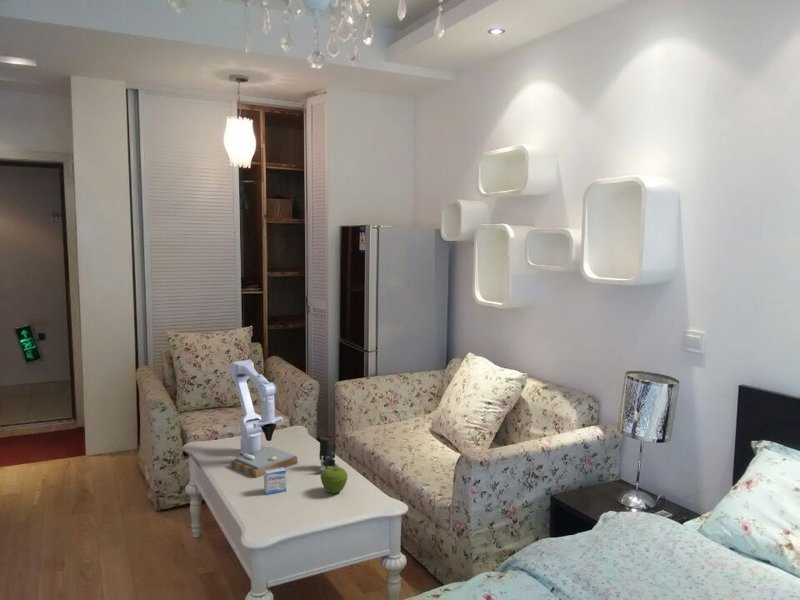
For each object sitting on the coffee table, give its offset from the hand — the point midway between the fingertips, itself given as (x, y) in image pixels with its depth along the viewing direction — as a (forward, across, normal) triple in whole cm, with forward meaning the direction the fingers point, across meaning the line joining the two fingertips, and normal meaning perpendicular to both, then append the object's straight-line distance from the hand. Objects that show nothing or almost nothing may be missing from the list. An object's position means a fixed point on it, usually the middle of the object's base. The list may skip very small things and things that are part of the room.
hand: (268, 440), depth 271 cm
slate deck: (+7, -3, -1) cm, 8 cm away
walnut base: (+10, -3, -1) cm, 11 cm away
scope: (+11, +12, -25) cm, 30 cm away
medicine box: (+11, -17, -27) cm, 34 cm away
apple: (+11, -2, -45) cm, 46 cm away
